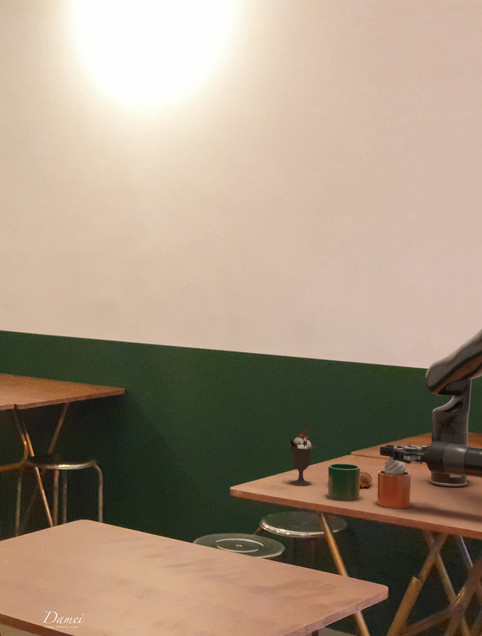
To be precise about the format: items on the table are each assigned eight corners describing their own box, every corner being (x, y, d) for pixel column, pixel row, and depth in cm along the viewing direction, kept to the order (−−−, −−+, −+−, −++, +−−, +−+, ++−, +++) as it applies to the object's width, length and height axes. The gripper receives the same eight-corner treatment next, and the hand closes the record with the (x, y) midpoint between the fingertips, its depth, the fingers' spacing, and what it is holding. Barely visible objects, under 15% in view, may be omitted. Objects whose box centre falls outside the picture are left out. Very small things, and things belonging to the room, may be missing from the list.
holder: (382, 499, 278) (383, 468, 277) (413, 503, 274) (414, 471, 273) (373, 505, 271) (374, 473, 271) (405, 509, 267) (405, 477, 267)
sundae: (315, 482, 298) (316, 427, 297) (310, 486, 292) (311, 431, 291) (291, 479, 301) (292, 426, 300) (285, 484, 295) (286, 429, 294)
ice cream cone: (405, 506, 270) (406, 445, 269) (384, 505, 271) (385, 445, 270) (403, 501, 274) (404, 442, 273) (382, 500, 275) (383, 441, 274)
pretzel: (362, 480, 301) (362, 466, 301) (380, 488, 290) (380, 474, 290) (320, 481, 299) (321, 468, 299) (337, 490, 288) (338, 476, 288)
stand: (333, 492, 286) (334, 462, 285) (363, 496, 282) (363, 465, 281) (323, 498, 279) (324, 467, 279) (353, 502, 275) (354, 470, 274)
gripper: (463, 439, 267) (396, 431, 279) (439, 447, 257) (370, 438, 268) (462, 469, 267) (395, 460, 279) (438, 478, 257) (370, 468, 269)
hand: (383, 449), depth 274 cm, fingers closed on ice cream cone, 2 cm apart
